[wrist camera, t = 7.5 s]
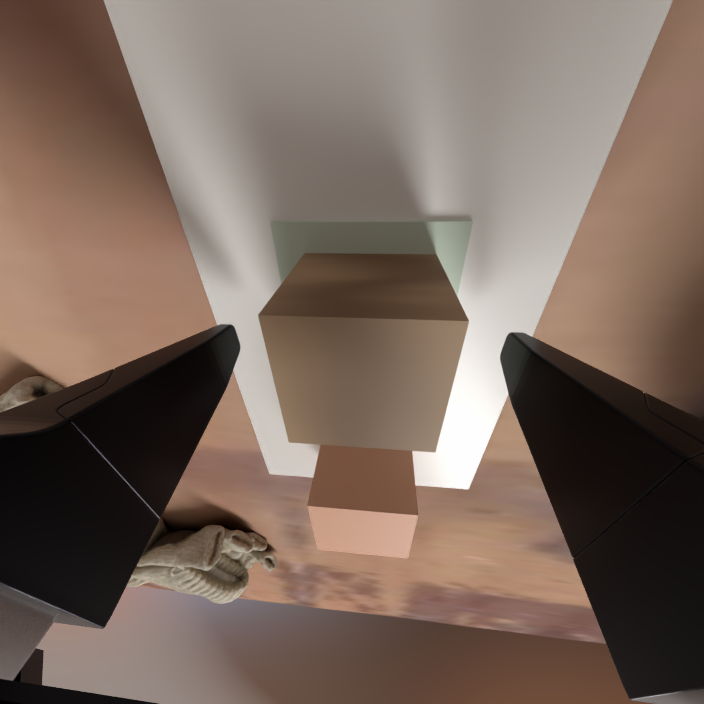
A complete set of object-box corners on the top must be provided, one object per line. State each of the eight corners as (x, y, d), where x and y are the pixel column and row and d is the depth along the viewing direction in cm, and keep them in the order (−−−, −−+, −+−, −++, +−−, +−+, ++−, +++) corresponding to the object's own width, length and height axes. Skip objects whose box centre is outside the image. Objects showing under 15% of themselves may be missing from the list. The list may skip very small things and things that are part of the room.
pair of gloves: (-123, 433, 24) (-230, 494, 20) (59, 359, 17) (-51, 430, 13) (142, 565, 40) (113, 615, 36) (299, 557, 32) (286, 619, 28)
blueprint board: (464, 471, 19) (468, 492, 18) (275, 458, 20) (268, 476, 19) (819, -477, 4) (982, -710, 3) (32, -322, 5) (-63, -450, 4)
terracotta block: (410, 425, 15) (418, 515, 11) (402, 473, 17) (407, 558, 14) (325, 420, 15) (307, 505, 12) (331, 467, 18) (317, 549, 14)
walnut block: (436, 254, 9) (469, 321, 6) (420, 360, 12) (435, 452, 8) (304, 253, 10) (257, 315, 6) (316, 356, 12) (288, 442, 9)
